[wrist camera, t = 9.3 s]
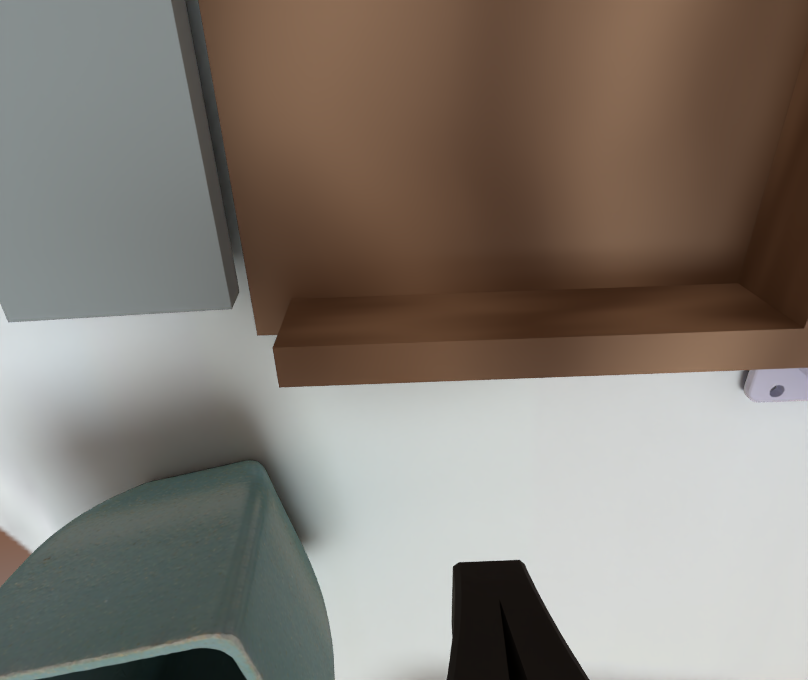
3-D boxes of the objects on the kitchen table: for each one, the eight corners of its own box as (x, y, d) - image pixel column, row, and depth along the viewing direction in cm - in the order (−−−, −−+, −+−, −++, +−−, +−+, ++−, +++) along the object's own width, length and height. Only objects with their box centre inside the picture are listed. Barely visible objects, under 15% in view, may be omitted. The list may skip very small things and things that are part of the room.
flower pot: (291, 404, 20) (229, 636, 12) (358, 561, 24) (343, 810, 16) (74, 453, 21) (-115, 700, 13) (174, 596, 25) (77, 850, 17)
